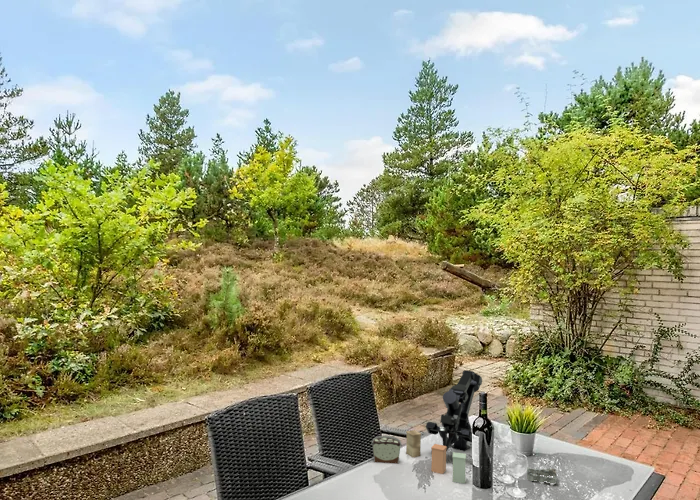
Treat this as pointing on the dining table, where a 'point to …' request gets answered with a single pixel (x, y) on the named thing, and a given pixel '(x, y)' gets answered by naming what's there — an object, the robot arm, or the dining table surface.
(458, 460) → the sage key
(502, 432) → the dining table surface
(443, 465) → the orange rectangular block
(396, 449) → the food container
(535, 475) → the egg carton
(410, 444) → the oak key
